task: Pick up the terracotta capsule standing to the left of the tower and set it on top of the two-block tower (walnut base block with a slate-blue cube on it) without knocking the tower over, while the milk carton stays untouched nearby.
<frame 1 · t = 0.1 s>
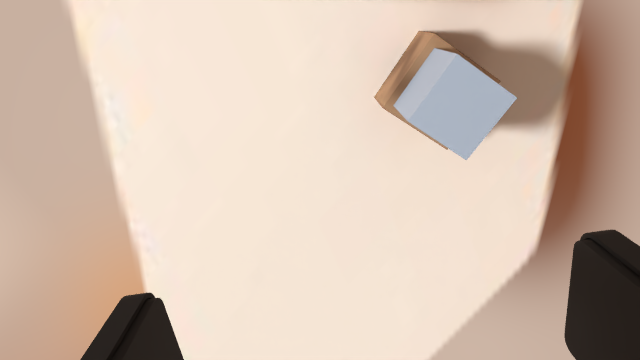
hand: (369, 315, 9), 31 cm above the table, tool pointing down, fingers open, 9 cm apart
slate blue cube: (439, 95, 34), point 5 cm above the table, touching walnut base block
walnut base block: (425, 85, 38), on the table, touching slate blue cube
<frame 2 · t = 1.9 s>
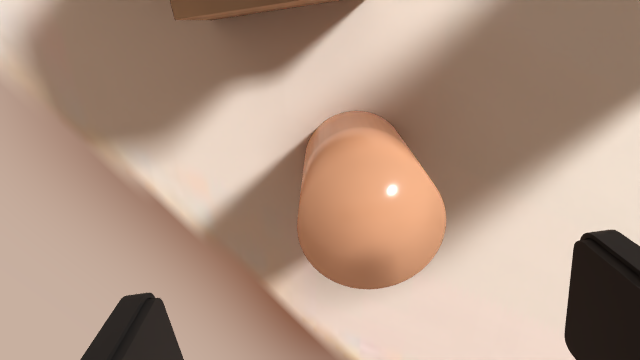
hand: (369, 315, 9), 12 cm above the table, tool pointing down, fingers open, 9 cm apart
terracotta capsule: (354, 160, 20), on the table
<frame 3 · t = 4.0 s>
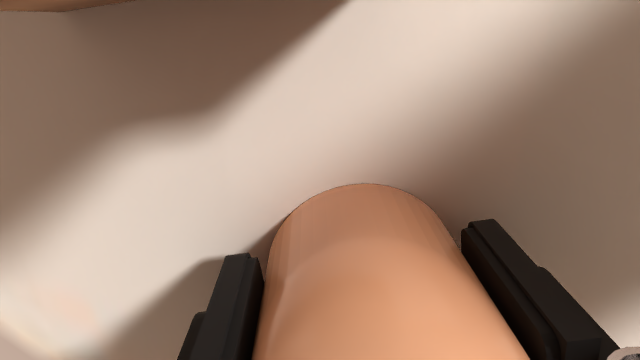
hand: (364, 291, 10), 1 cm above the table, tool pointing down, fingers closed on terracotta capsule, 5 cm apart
terracotta capsule: (360, 268, 11), on the table, touching gripper
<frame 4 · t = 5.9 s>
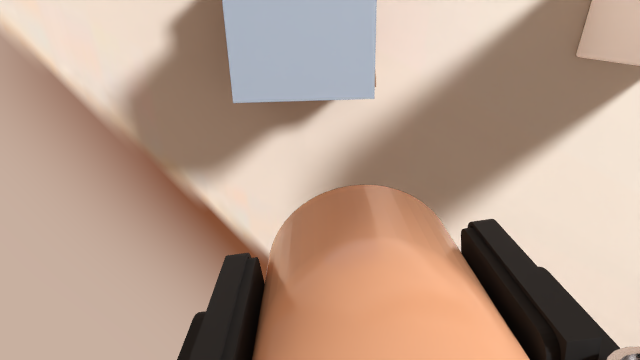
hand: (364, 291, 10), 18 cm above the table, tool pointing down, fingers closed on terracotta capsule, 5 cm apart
slate blue cube: (303, 23, 20), point 5 cm above the table, touching walnut base block
milk: (634, 8, 24), on the table
terracotta capsule: (360, 269, 11), point 17 cm above the table, touching gripper
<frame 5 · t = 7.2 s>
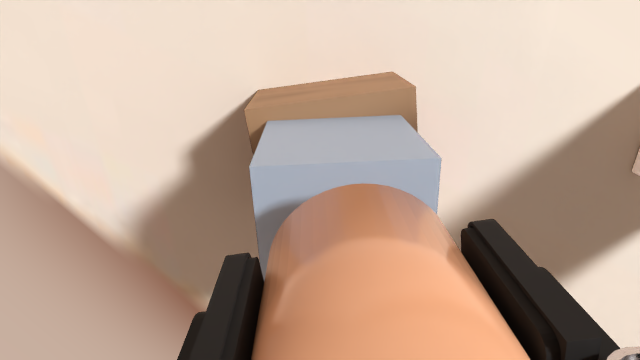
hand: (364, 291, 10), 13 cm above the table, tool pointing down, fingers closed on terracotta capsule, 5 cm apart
slate blue cube: (335, 179, 18), point 5 cm above the table, touching walnut base block
walnut base block: (332, 144, 22), on the table, touching slate blue cube
terracotta capsule: (360, 268, 11), point 12 cm above the table, touching gripper
when the fingers open (13 cm above the table, at t = 7.9 s): terracotta capsule drops 2 cm, resting on slate blue cube.
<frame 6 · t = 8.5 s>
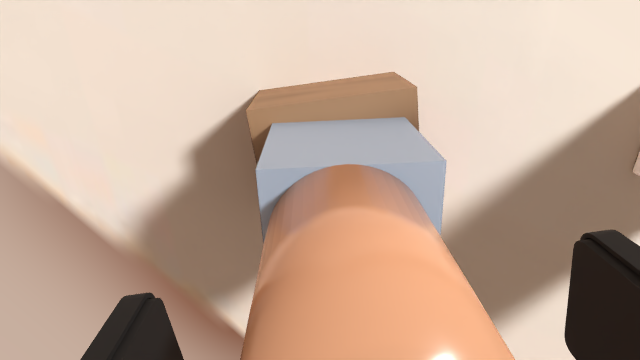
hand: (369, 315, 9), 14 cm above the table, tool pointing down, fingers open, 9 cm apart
slate blue cube: (340, 181, 18), point 5 cm above the table, touching terracotta capsule, walnut base block
walnut base block: (334, 144, 22), on the table, touching slate blue cube
terracotta capsule: (347, 240, 13), point 10 cm above the table, touching slate blue cube
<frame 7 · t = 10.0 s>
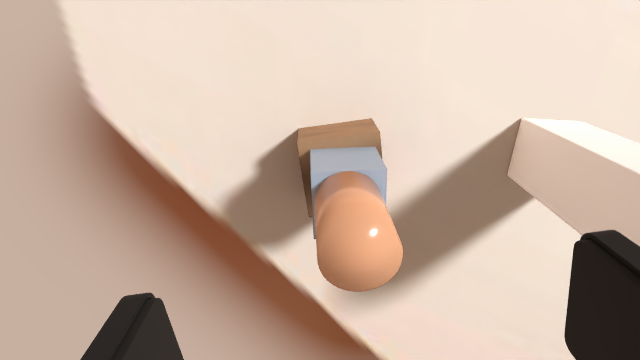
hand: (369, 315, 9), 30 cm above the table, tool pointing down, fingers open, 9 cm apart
slate blue cube: (343, 178, 35), point 5 cm above the table, touching terracotta capsule, walnut base block
walnut base block: (339, 157, 40), on the table, touching slate blue cube
milk: (541, 148, 40), on the table
terracotta capsule: (347, 202, 30), point 10 cm above the table, touching slate blue cube
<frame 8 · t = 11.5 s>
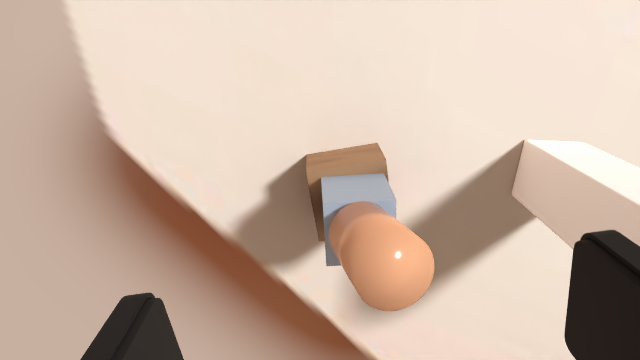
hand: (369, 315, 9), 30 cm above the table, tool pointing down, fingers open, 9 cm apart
slate blue cube: (353, 203, 36), point 5 cm above the table, touching terracotta capsule, walnut base block
walnut base block: (346, 180, 41), on the table, touching slate blue cube
milk: (544, 168, 41), on the table
terracotta capsule: (360, 233, 31), point 11 cm above the table, tilted 14°, touching slate blue cube
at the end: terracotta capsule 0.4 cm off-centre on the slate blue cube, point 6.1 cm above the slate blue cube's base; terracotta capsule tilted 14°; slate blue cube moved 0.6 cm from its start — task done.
